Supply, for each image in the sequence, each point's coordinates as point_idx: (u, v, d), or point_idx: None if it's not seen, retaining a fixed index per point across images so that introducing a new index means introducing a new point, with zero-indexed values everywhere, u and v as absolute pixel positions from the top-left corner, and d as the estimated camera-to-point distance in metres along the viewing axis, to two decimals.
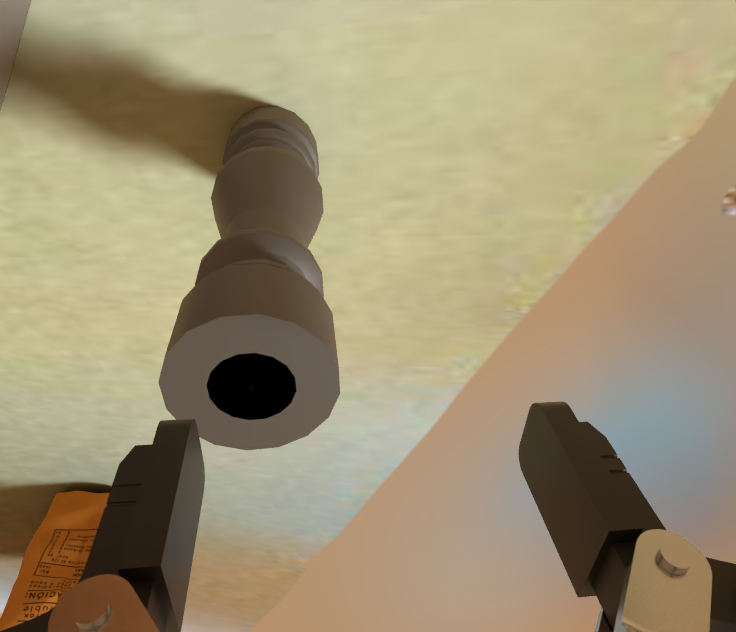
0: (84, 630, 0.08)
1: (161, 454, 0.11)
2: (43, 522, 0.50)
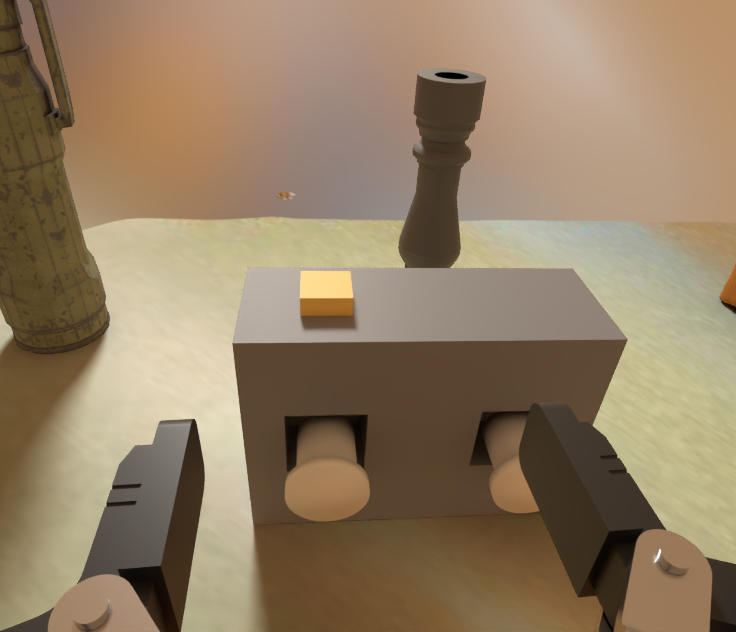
0: (84, 630, 0.08)
1: (161, 454, 0.11)
2: None
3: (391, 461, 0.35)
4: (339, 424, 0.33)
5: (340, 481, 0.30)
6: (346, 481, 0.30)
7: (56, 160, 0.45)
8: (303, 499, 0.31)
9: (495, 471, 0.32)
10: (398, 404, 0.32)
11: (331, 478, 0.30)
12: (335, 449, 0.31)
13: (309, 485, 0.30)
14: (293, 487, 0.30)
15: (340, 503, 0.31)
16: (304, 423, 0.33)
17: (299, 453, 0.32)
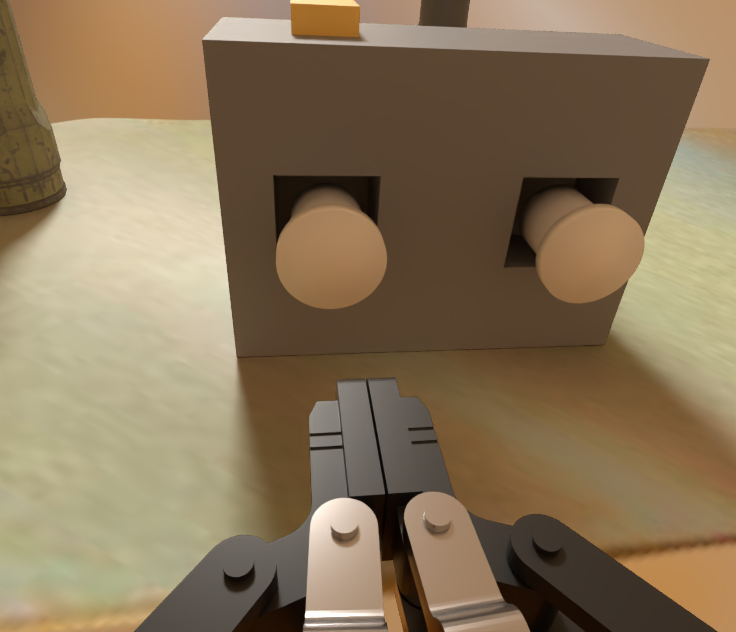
0: (345, 541, 0.09)
1: (350, 406, 0.12)
2: None
3: (408, 257, 0.28)
4: (343, 193, 0.26)
5: (349, 237, 0.23)
6: (356, 237, 0.23)
7: None
8: (300, 268, 0.23)
9: (545, 237, 0.25)
10: (419, 160, 0.25)
11: (337, 231, 0.23)
12: None
13: (308, 242, 0.23)
14: (286, 245, 0.23)
15: (349, 278, 0.24)
16: (299, 197, 0.26)
17: None
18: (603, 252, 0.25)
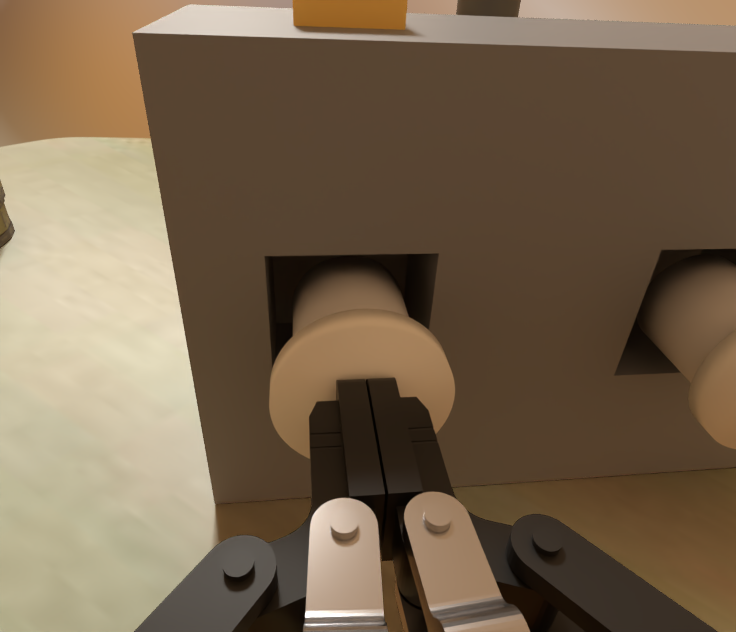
0: (345, 541, 0.09)
1: (350, 406, 0.12)
2: None
3: (473, 367, 0.18)
4: (376, 273, 0.16)
5: (393, 365, 0.13)
6: (407, 365, 0.13)
7: None
8: None
9: (715, 355, 0.15)
10: (501, 228, 0.16)
11: (374, 357, 0.13)
12: (376, 308, 0.15)
13: (325, 375, 0.13)
14: (287, 382, 0.13)
15: None
16: (306, 278, 0.17)
17: (298, 326, 0.15)
18: None
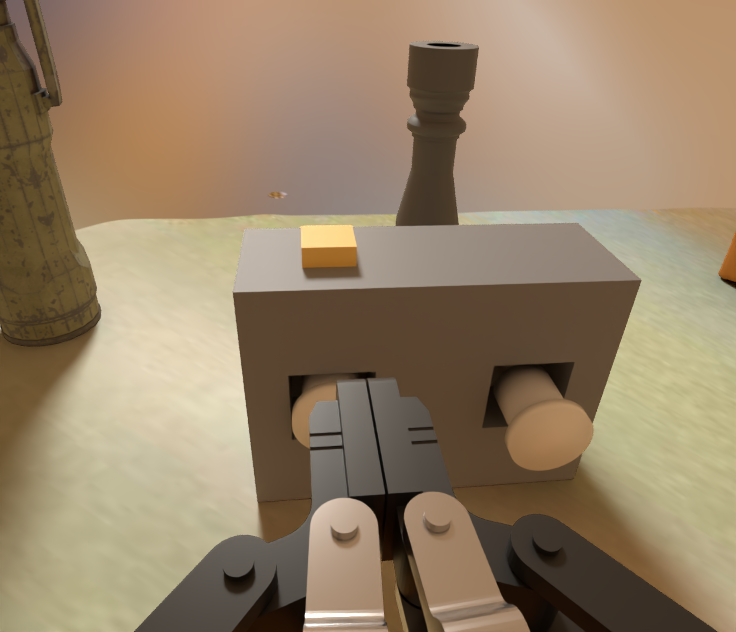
0: (345, 541, 0.09)
1: (350, 406, 0.12)
2: None
3: None
4: None
5: None
6: None
7: (43, 141, 0.44)
8: None
9: (511, 424, 0.30)
10: (407, 359, 0.31)
11: None
12: (340, 378, 0.32)
13: None
14: (299, 414, 0.30)
15: None
16: None
17: (304, 386, 0.32)
18: (559, 435, 0.30)
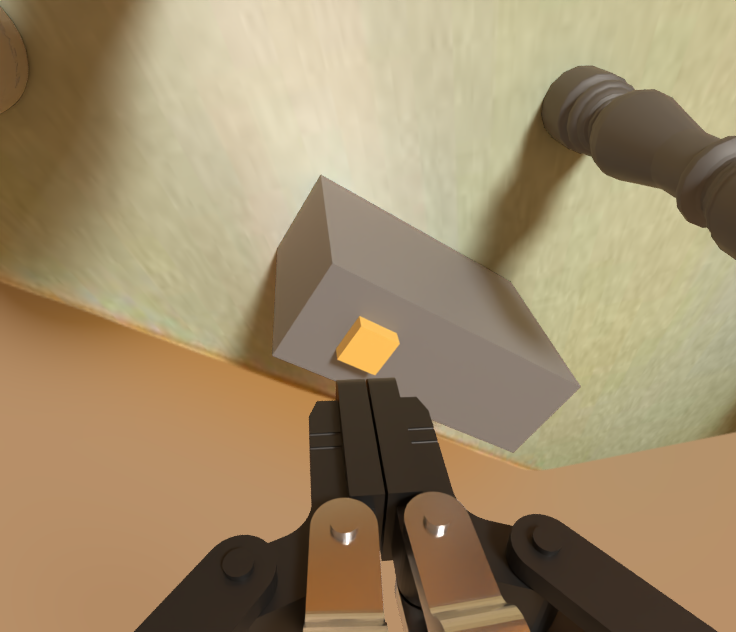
0: (344, 541, 0.09)
1: (350, 406, 0.12)
2: None
3: None
4: None
5: None
6: None
7: None
8: None
9: None
10: None
11: None
12: None
13: None
14: None
15: None
16: None
17: None
18: None
